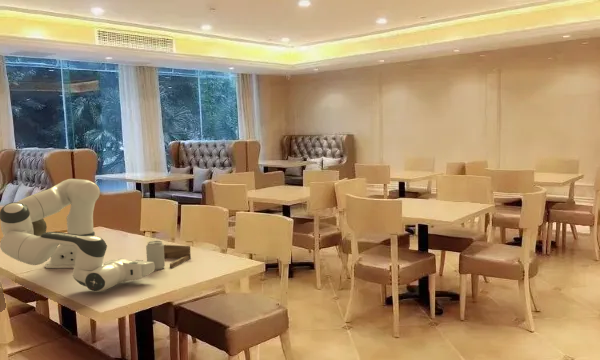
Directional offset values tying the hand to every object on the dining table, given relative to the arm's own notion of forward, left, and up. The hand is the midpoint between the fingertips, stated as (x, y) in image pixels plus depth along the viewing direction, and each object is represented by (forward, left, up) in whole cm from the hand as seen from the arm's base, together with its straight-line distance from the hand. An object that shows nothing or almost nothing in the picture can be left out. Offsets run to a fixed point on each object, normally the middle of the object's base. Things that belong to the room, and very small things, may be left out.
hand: (140, 261), depth 212 cm
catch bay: (+10, +21, -6) cm, 24 cm away
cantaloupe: (-71, +90, -6) cm, 115 cm away
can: (+5, +11, -6) cm, 13 cm away
